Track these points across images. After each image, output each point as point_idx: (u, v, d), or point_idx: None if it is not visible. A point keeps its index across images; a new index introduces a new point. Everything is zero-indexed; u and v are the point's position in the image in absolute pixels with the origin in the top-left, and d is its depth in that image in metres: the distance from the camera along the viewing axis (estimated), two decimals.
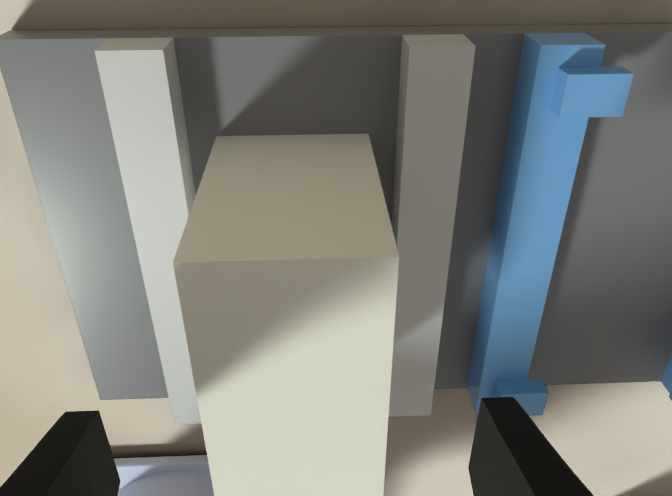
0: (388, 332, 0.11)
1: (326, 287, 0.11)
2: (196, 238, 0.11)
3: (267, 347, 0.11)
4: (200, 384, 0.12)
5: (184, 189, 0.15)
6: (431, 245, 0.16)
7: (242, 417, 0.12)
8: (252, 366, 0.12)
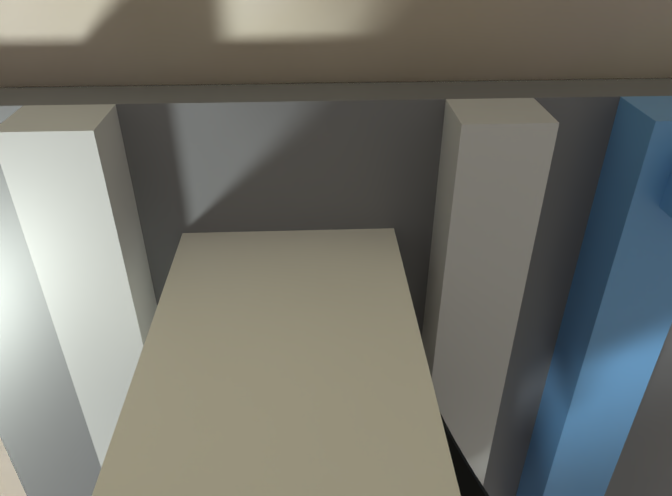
0: None
1: None
2: (127, 467, 0.07)
3: None
4: None
5: (136, 312, 0.11)
6: (478, 376, 0.12)
7: None
8: None
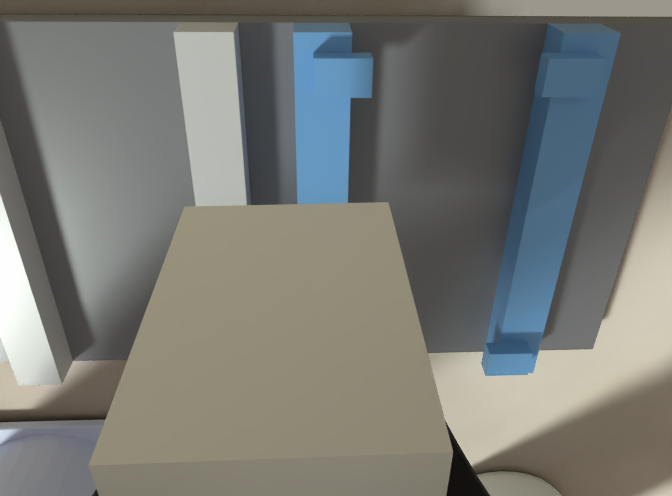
0: None
1: (336, 492, 0.07)
2: (133, 410, 0.07)
3: None
4: None
5: None
6: None
7: None
8: None
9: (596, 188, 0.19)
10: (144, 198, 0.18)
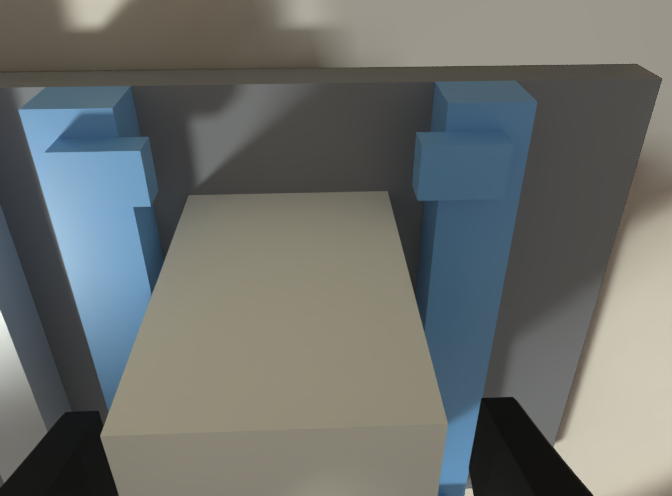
0: None
1: (336, 462, 0.07)
2: (142, 385, 0.07)
3: None
4: None
5: None
6: None
7: None
8: None
9: (529, 299, 0.14)
10: None
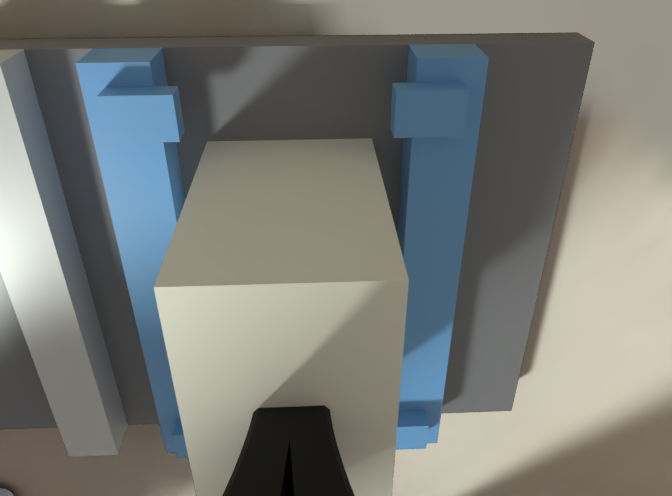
0: (396, 361, 0.10)
1: (327, 314, 0.10)
2: (181, 259, 0.10)
3: (261, 378, 0.10)
4: (187, 418, 0.11)
5: None
6: (41, 278, 0.15)
7: (234, 453, 0.11)
8: (244, 399, 0.11)
9: (493, 235, 0.16)
10: None
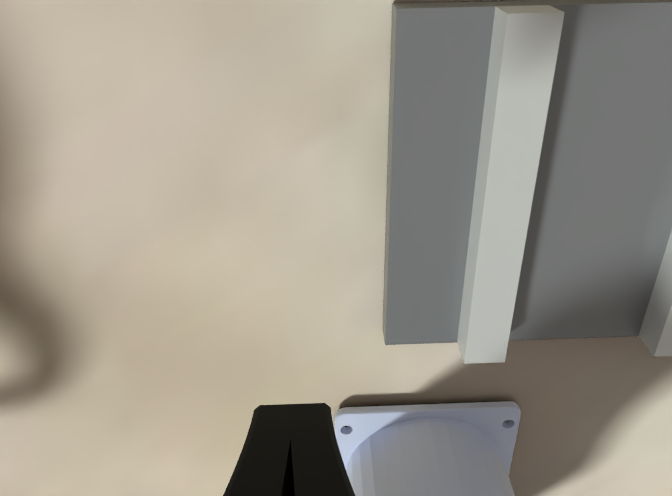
0: None
1: None
2: None
3: None
4: None
5: (541, 138, 0.17)
6: None
7: None
8: None
9: None
10: (633, 176, 0.19)
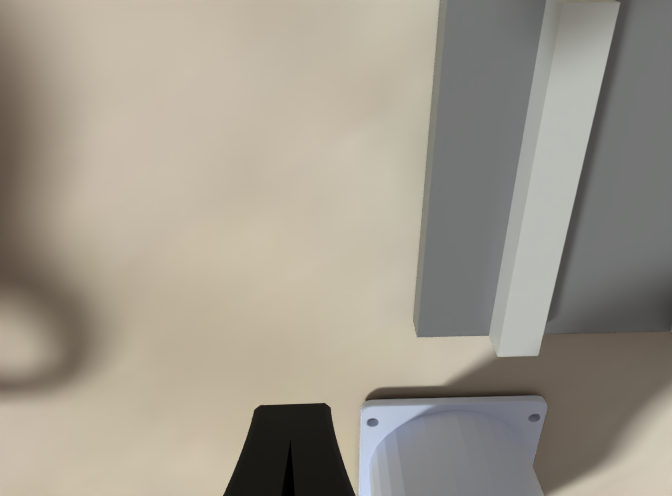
0: None
1: None
2: None
3: None
4: None
5: (589, 130, 0.17)
6: None
7: None
8: None
9: None
10: None
